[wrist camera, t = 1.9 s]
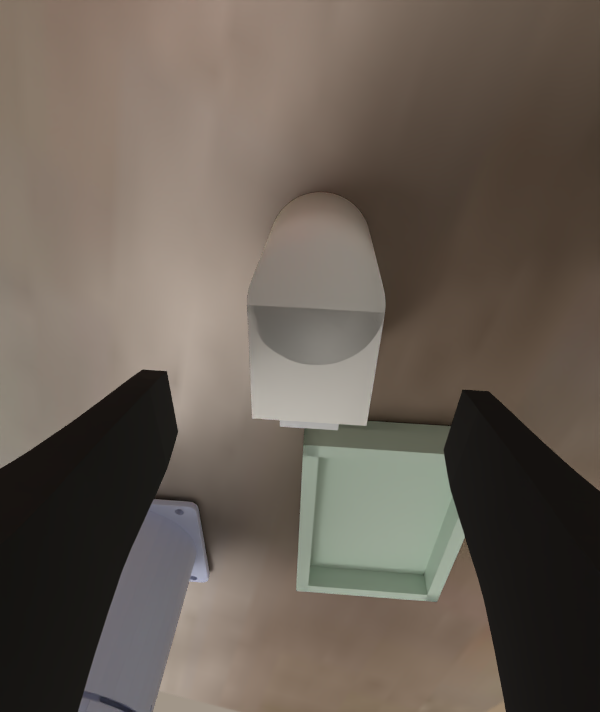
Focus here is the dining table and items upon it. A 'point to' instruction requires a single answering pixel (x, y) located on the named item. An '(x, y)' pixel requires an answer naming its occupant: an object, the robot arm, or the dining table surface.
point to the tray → (377, 512)
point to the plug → (315, 316)
